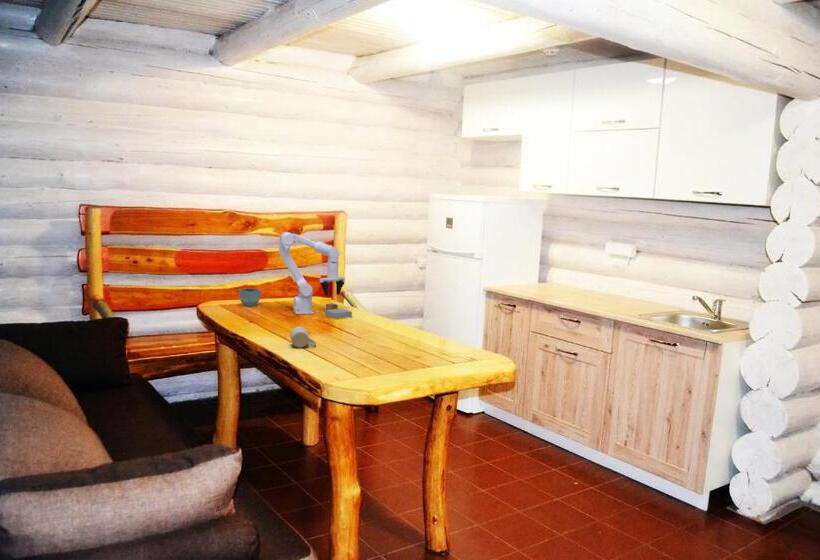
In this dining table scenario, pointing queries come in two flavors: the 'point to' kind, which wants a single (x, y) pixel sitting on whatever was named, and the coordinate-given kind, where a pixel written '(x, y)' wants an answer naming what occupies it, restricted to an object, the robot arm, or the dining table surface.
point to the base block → (338, 313)
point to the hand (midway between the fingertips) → (332, 295)
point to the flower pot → (249, 296)
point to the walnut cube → (331, 306)
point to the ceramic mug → (301, 337)
